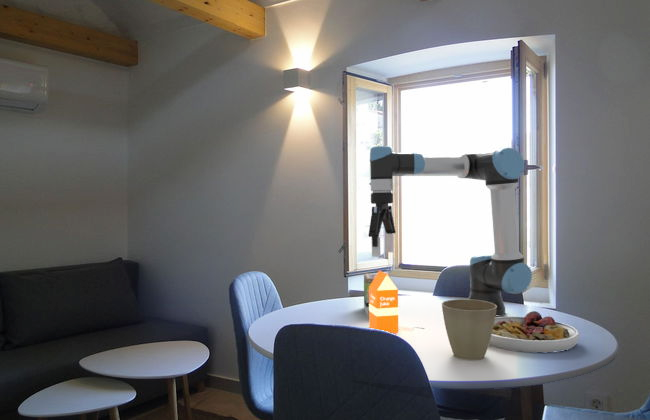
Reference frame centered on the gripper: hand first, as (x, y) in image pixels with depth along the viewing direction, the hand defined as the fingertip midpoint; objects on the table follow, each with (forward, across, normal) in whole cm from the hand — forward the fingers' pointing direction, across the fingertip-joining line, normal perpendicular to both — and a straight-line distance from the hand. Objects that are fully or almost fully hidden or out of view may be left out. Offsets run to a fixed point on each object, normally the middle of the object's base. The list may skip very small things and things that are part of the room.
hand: (382, 254), depth 175 cm
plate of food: (+28, -6, +45) cm, 53 cm away
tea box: (+27, -30, -13) cm, 42 cm away
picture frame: (+27, 0, 0) cm, 27 cm away
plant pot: (+27, +19, +32) cm, 46 cm away
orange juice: (+26, 0, 0) cm, 26 cm away
